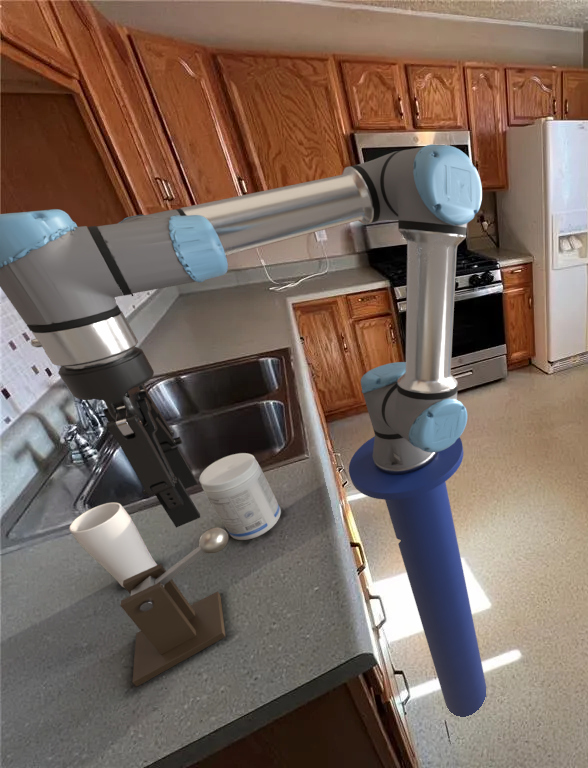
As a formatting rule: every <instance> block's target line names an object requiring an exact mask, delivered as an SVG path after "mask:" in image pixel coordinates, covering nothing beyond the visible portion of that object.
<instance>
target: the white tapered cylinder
mask: <svg viewBox="0 0 588 768" xmlns="http://www.w3.org/2000/svg"><path fill="white" fill-rule="evenodd" d="M68 530H69V532H70V534H71V535H72V536H73V538H74V539H75V541H76V542H77V543H78V544H79V545H80V547H81V548H82V549H83V550H84V551H85V552H86V553H87V554H88V555H89V556H90V557H91V558H92V559H93V560H95V561H96V562H97V564H98V565H100V566H101V567H102V568H103V569H104V570H105V571H106V572H108V574H110V575H111V577H113V578H114V580H115V581H116V582H117V583H118V584H119V585H120V587H122V588H124V589H125V587H124V586H123V581H124V580H126V579H128V578H130V577H132V576H134V575H137V574H139V573H141V572H143V571H145V570H148V569H150V568H152V567H154V566H156V565H158V563H157V562H156V560H155V559H154V558H153V556H152V554H151V553H150V550H149V548H148V547H147V545H146V542H145V541H144V539H143V537H142V535H141V533H140V531H139V529H138V527H137V525H136V524H135V522H134V520H133V518H132V517H131V516H130V514H129V512H127V510H126V509H125V508H124V507H123V505H122V504H121V503H119V502H113V501H112V502H106V503H103V504H100V505H97V506H95V507H92V508H89V509H88V510H86V511H84V512H83V513H81V514H80V515H79V516H77V517H76V518H75V519H74V520H73V521H72V522H71V523H70V525H69V527H68Z"/></svg>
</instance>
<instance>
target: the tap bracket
mask: <svg viewBox="0 0 588 768" xmlns="http://www.w3.org/2000/svg"><path fill="white" fill-rule="evenodd" d="M166 571H167V570H166V569H165V568H164V566H163V565H162V563H159V564H157V565H156V566H154V567H152V568H150V569H148V570H145V571H143V572H141V573H139V574H137V575H134V576H132V577H130V578H128V579H126V580H124V581H123V586H124V587H125V588H124V587H123V588H124V589H125V590H126V591H127V592H128V594H129V596H127V597H125V598H123V599H121V600H120V604H119V606H120V608H122V610H123V611H124V612H125V614H126V615H127V617H129V619H131V621H132V622H133V623H134V625H136V627H137V628H138V629H139V631H137V632H135V634H136V635H135V643H134V644H135V645H134V657H133V670H132V671H133V672H132V680H131V681H132V682H131V683H132V684H133V685H134V686H135V687H136V688H138V687H139V686H141V685H143V684H144V683H146V682H149V681H150V680H151V679H153V678H155V677H157V676H159V675H161V674H162V673H164V672H165V671H167V670H169V669H171V668H173V667H175V666H176V665H178V664H180V663H182V662H183V661H186V660H187V659H189V658H191V657H192V656H194V655H196V654H197V653H200V652H202V651H203V650H205V649H207V648H208V647H210V646H212V645H214V644H216V643H217V642H220V641H221V640H223V639H224V638H226V630H225V621H224V613H223V605H222V597H221V594H220V592H219V591H215V592H214V593H212V594H210V595H208V596H205V597H204V598H202V599H200V600H198V601H196V602H194V603H191V604H190V603H189V601H188V599H187V598H186V597H185V596H184V594H183V592H182V591H181V590H180V588H179V587H178V586H177V584H176V583H175V581H174V580H173V578H172V579H171V580H170V581H169V582H167V583H166V584H165V585H164V587H163V585H162V584H161V583H160V582H159V583H157V584H155V585H153V586H151V587H149V588H147V589H144V590H142V591H140V592H138V593H136V594H134V595H132V596H131V590H132V589H134V588H135V587H136V586H138V585H139V584H140V583H142V582H143V581H144V580H145V579H147V578H148V577H149V576H152V577H154V578H156V579H157V578H158V577H160V576H161V575H162V574H163V573H165V572H166Z"/></svg>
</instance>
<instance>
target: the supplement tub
mask: <svg viewBox="0 0 588 768" xmlns="http://www.w3.org/2000/svg"><path fill="white" fill-rule="evenodd" d="M198 479H199V483H200V485H201V488H202V490H203V492H204V493H205V495H206V497H207V498H208V500H209V503H210V504H211V505H212V507H213V509H214V511H215V512H216V514H217V516H218V518H219V519H220V521H221V523H222V524H223V526H224V528H225V529H226V532H227V533H228V535H229V536H230V537H232V538H233V539H235V540H238V541H248V540H251V539H255V538H258V537H260V536H262V535H264V534H266V533H267V532H268V531H270V530H271V529H272V528H273V527H274V526H276V524H277V522H278V521H279V520H280V517H281V513H282V511H281V507H280V505H279V502H278V501H277V498H276V496H275V494H274V492H273V490H272V488H271V486H270V483H269V482H268V480H267V478H266V476H265V474H264V471H263V469H262V467H261V465H260V464H259V462H258V461H257V459H256V457H255V456H254V455H253V454H251V453H248V452H247V453H246V452H239V453H235V454H234V453H233V454H230V455H227V456H224V457H222V458H219V459H217V460H215V461H214V462H212V463H211V464H209V465H208V466H207V467H206V468H204V470H203V471H202V472H201V474H200V475H199V478H198Z"/></svg>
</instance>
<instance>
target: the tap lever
mask: <svg viewBox="0 0 588 768" xmlns="http://www.w3.org/2000/svg"><path fill="white" fill-rule="evenodd" d="M228 542H229V533H228V531H227V530H225V529H224V528H221V527H212V528H209V529H207V530H206V531H204V532H203V533H202V534H201V535H200V538H199V540H198V546H197V547H196V548H195V549H193V550H192V551H191V552H189V553H188V554H187V555H185V556H184V557H183V558H182V559H180V560H179V561H178V562H176V563H175V564H174V565H172V566H170V568H169V569H167V570H166V572H165V573H163V574H162V575H161V576H160V577H158V578H157V579H156V578H154V577H152V576H149V577H148V578H147V579H145V580H144V581H143V582H142V583H140V584H139V585H138V586H136V587H135V588H134V589H132V590H131V595H130V596H132V595H134V594H136V593H138V592H140V591H142V590H144V589H147V588H149V587H151V586H153V585H155V584H157V583H159V582H160V583H161V584H162V585H163V587H164V585H165V584H166V583H167V582H169V581H170V580H171V579H172V580H173V579H174V578H175V577H176V576H177V575H179V574H180V573H182V572H183V571H184V570H186V568H188V567H189V566H191V565H192V564H194V562H196V561H197V560H198V559H200V558H201V557H202V556H204V555H205V554H215V553H218V552H220V551H222V550H223V549H224V548H225V547H226V546H227V544H228Z"/></svg>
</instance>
